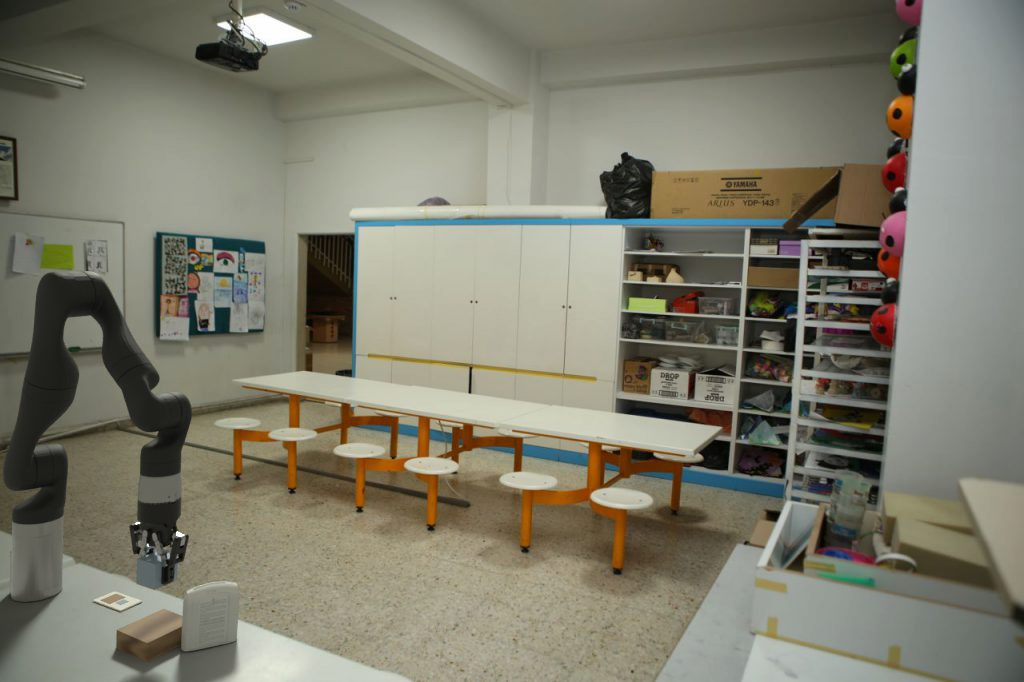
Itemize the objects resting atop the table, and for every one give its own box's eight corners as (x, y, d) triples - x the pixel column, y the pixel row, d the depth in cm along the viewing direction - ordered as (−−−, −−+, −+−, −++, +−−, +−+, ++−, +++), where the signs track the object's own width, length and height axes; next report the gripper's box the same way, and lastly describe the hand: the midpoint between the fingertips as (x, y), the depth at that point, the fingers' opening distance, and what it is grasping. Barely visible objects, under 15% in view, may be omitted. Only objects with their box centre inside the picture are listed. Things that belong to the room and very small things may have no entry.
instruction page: (92, 601, 141) (92, 599, 141) (114, 592, 146) (114, 590, 146) (120, 611, 138) (120, 610, 138) (142, 602, 142) (142, 600, 142)
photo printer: (235, 632, 133) (237, 574, 132) (239, 642, 129) (241, 582, 128) (179, 644, 127) (181, 583, 126) (182, 655, 124) (184, 593, 123)
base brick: (116, 649, 124) (116, 629, 124) (163, 627, 134) (163, 608, 133) (146, 663, 121) (147, 643, 120) (193, 639, 130) (194, 620, 130)
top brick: (136, 583, 125) (137, 558, 124) (159, 574, 129) (160, 550, 129) (154, 590, 123) (155, 564, 123) (177, 580, 127) (178, 555, 127)
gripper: (116, 493, 124) (114, 578, 126) (168, 507, 119) (166, 596, 120) (151, 484, 131) (149, 565, 132) (202, 496, 126) (199, 581, 127)
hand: (157, 579), depth 126 cm, fingers closed on top brick, 5 cm apart
